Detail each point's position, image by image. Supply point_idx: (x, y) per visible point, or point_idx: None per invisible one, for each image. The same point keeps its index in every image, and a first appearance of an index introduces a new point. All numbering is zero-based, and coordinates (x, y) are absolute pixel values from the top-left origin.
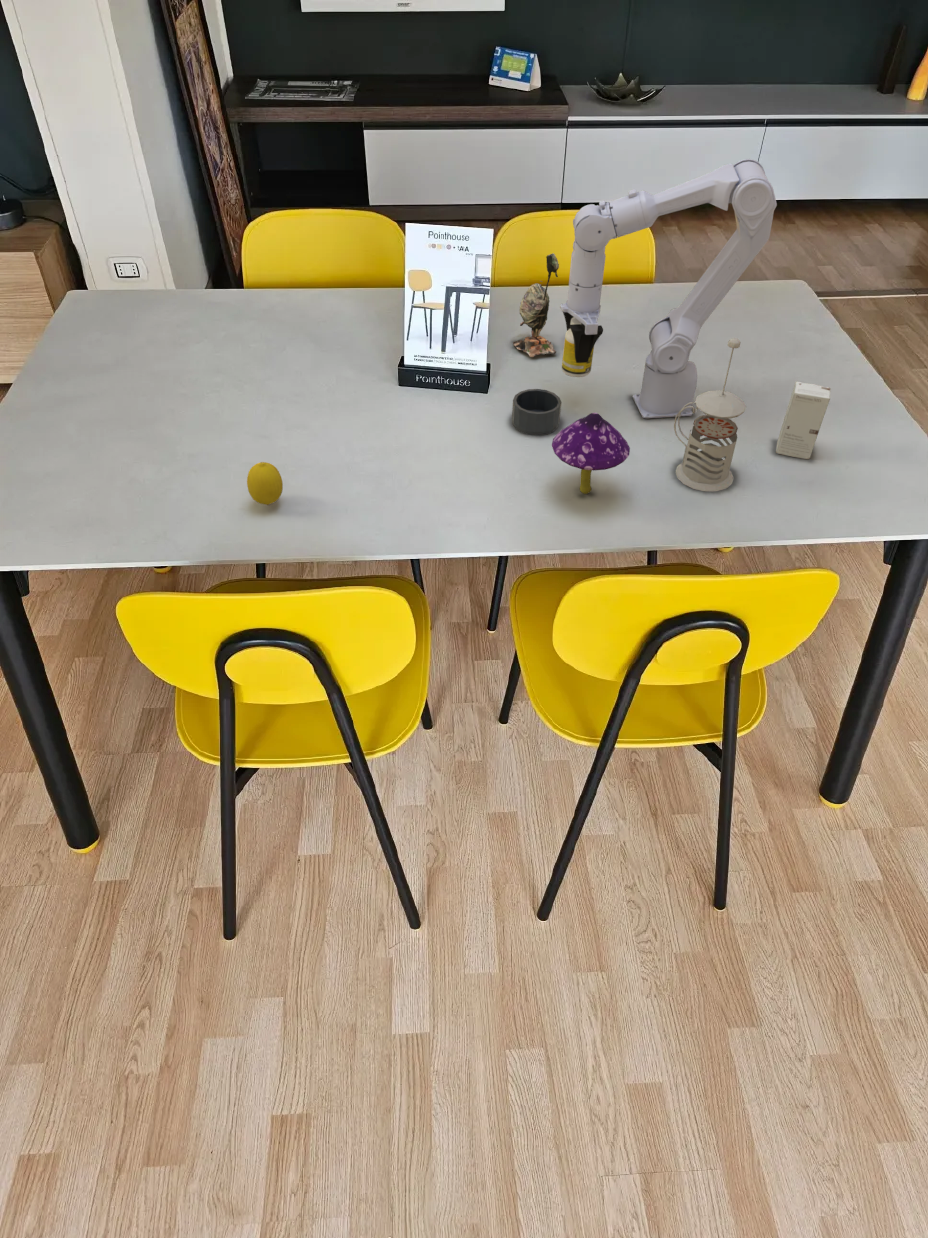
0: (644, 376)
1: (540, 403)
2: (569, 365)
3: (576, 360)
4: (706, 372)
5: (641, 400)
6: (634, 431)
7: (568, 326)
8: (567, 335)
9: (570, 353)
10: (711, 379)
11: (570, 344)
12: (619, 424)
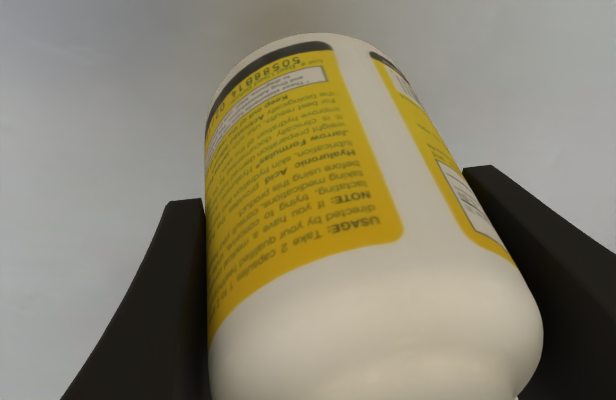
0: None
1: None
2: (228, 120)
3: (164, 216)
4: None
5: None
6: (61, 228)
7: (595, 316)
8: (368, 308)
9: (240, 197)
10: None
11: (259, 269)
12: (105, 188)
